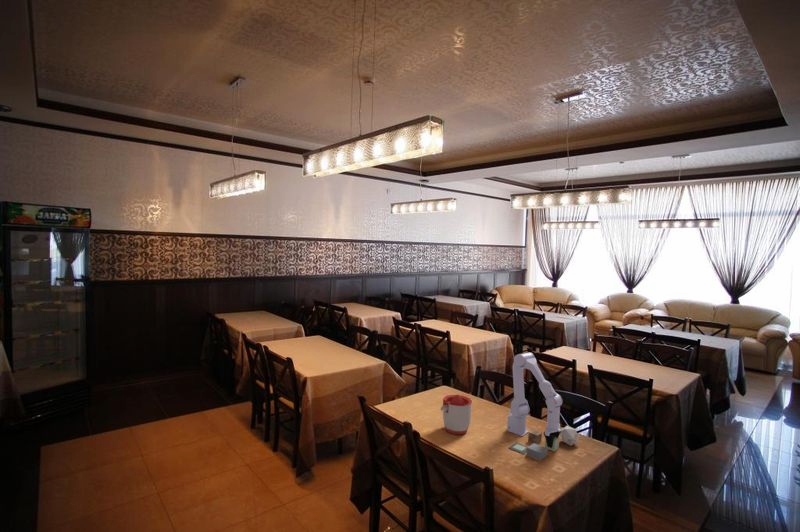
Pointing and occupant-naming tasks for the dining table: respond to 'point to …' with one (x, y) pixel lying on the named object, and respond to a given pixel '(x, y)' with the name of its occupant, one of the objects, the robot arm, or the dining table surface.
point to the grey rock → (569, 435)
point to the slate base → (537, 451)
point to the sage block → (555, 444)
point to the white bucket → (456, 413)
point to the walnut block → (534, 436)
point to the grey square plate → (518, 448)
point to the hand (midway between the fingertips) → (551, 445)
